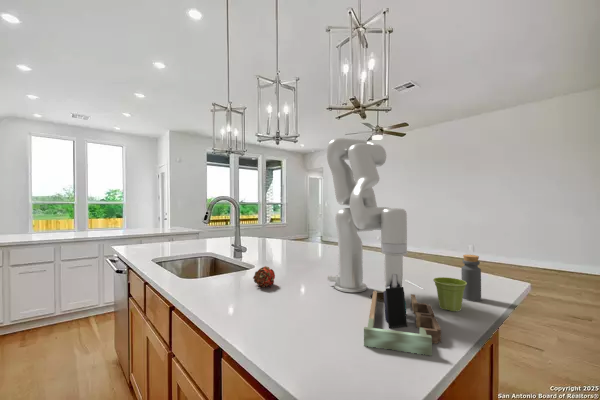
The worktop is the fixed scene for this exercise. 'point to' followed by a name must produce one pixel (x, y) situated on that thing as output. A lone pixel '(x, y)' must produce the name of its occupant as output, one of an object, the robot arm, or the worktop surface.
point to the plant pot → (450, 292)
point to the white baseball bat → (413, 284)
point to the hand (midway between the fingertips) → (394, 308)
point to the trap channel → (405, 340)
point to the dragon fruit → (264, 277)
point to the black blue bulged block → (395, 307)
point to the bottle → (471, 278)
